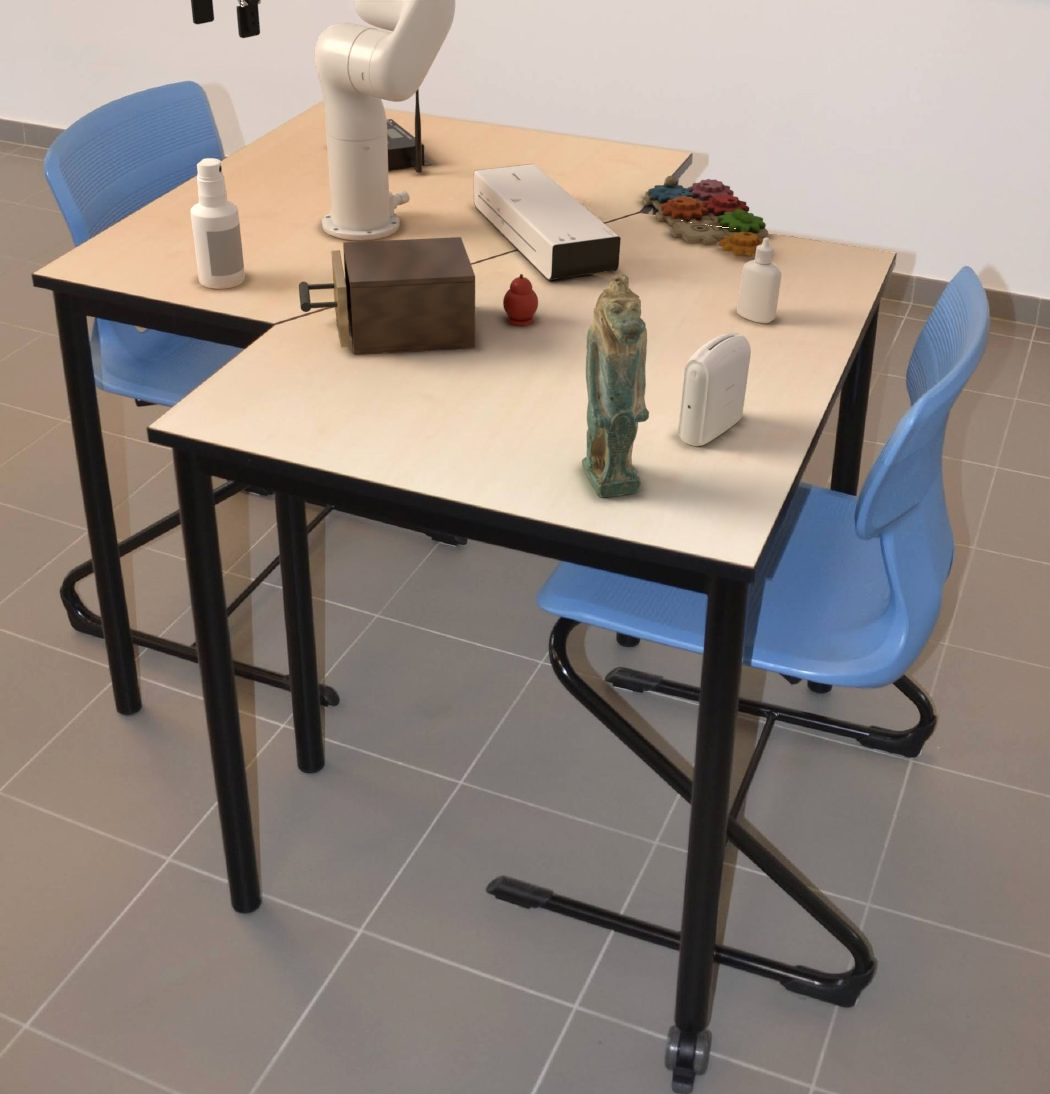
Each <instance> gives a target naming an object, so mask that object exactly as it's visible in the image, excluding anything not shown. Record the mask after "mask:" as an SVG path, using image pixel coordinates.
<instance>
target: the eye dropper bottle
mask: <svg viewBox="0 0 1050 1094" xmlns="http://www.w3.org/2000/svg"><path fill="white" fill-rule="evenodd" d="M762 239H763V242H762V244H761V245H758V246H757V247H756V254H754V259H752V260H748V261H747V262H745V263H744V264H743V266H742V269H741V274H740V275H741V276H740V283H739V288H738V290H739V291H738V297H737V298H738V299H737V306H736V313H737V315H739V316H740V317H742V318H743V319H745V320H748V321H750V322H754V323H758V324H769V323H771V322H773V321H775V319H776V316H777V310H778V309H777V308H778V302H779V297H780V296H779V295H780V290H781V289H780V288H781V281H782V271H781V270H780V268H779V267H778V266H777V265H775V264H774V263H773V257H774V249H775V248H774V247H773V246H772V245H770V238H769V237H763V238H762Z"/></svg>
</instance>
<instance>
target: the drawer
mask: <svg viewBox="0 0 1050 1094" xmlns="http://www.w3.org/2000/svg"><path fill="white" fill-rule="evenodd" d="M330 251H331V253H330V254H331V271H332V282H333V283H332V282H331V283H310V284H309V283H308V282H307V281H300V282H299V284H298V295H299V304H300V306H299V307H300V310H301V311H302V312H304V313H307V312H310V311H311V310H312V309H324V308H325V309H326V308H334V312H335V313H334V314H335V319H336V326H337V331H338V339H339V346H340V348H341V349H343V348H350V347H351V346H350V327H349V321H348V309H347V291H346V283H345V270H344V264H343V260H342V254H341V250H340V249H339V250H337V249H336V250H330ZM313 290H314V291H315V290H333V300H334V301H322V302H321V301H320V302H311V294H310V291H313Z"/></svg>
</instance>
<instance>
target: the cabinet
mask: <svg viewBox="0 0 1050 1094" xmlns="http://www.w3.org/2000/svg"><path fill="white" fill-rule="evenodd" d="M342 247H343V248H342V249H343V270H344V277H345V283H346V291H347V309H348V327H349V334H350V338H351V345H352V350H353V355H354V356H358V355H361V356H362V355H375V354H392V353H394V354H395V353H407V352H426V351H442V350H443V351H444V350H459V349H475V348H476V274H475V272H474V268H473V266H472V263H471V261H470V257H469V254H468V252H467V250H466V247H465V243H464V241H463V238H462V236H453V237H429V238H410V239H407V238H406V239H388V240H387V239H386V240H361V241H344V242H342Z"/></svg>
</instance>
